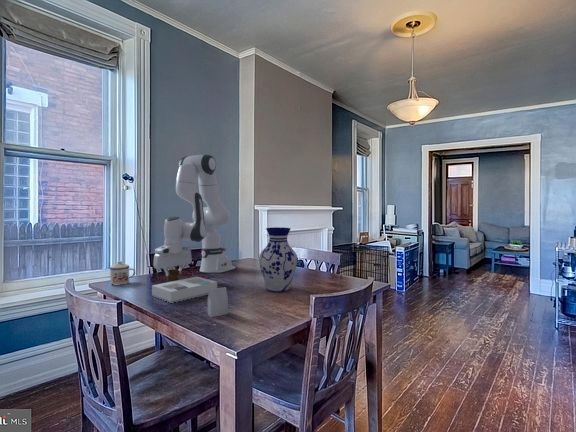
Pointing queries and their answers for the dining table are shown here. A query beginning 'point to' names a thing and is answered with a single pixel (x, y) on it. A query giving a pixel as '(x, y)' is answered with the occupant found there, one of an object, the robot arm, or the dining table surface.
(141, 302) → the dining table surface
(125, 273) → the teacup with lid
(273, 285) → the vase
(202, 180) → the robot arm
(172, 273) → the utensil holder
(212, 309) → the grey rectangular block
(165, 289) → the socket box
